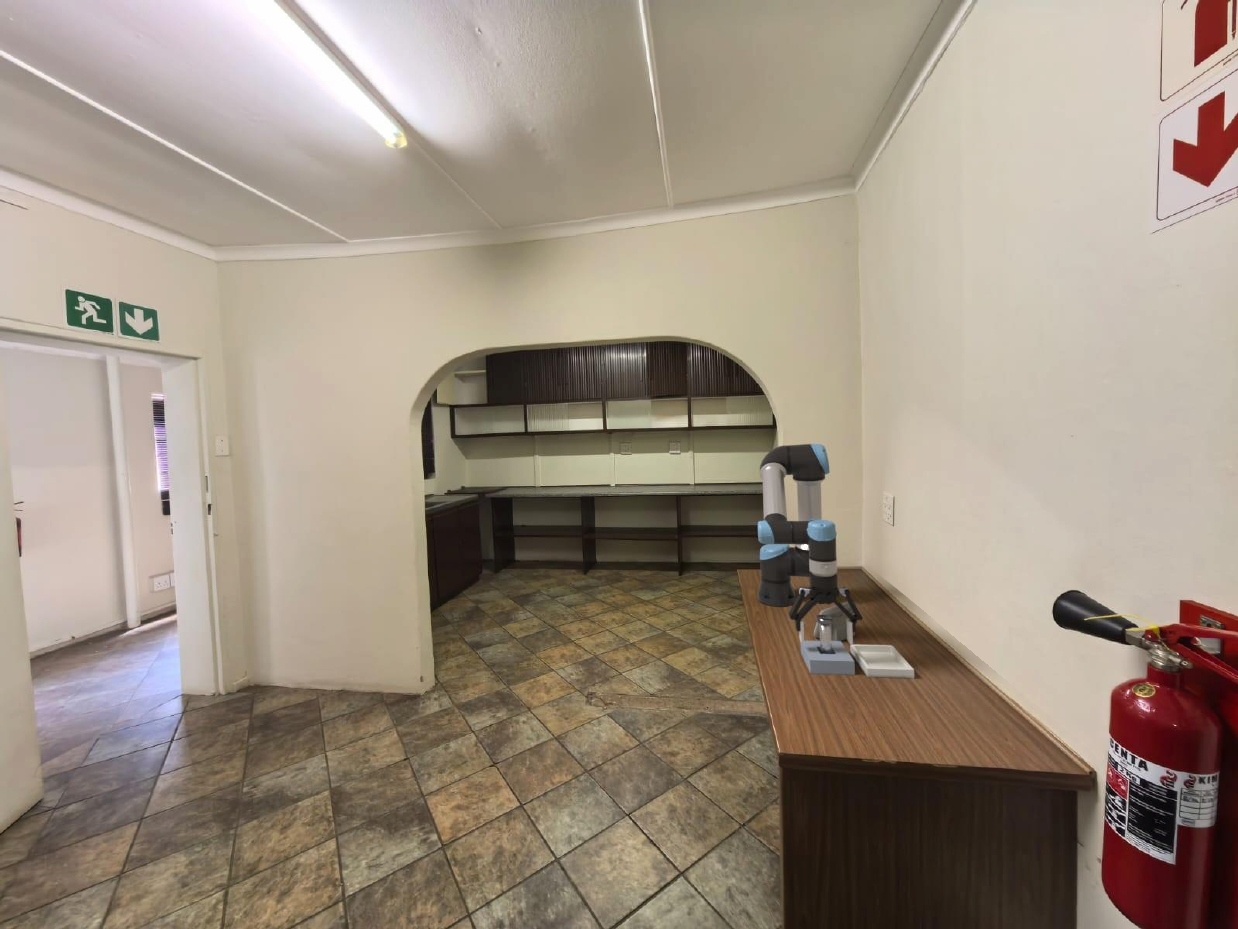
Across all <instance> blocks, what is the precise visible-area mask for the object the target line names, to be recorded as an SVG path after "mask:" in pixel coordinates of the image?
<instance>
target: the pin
mask: <svg viewBox="0 0 1238 929" xmlns="http://www.w3.org/2000/svg"><path fill="white" fill-rule="evenodd" d="M817 622H818V623H819V630H820V638H819V641H820V654H832V639H831V624H833V618H832V617H831V616H829V615H819V614H818V615H816V623H817Z"/></svg>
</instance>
